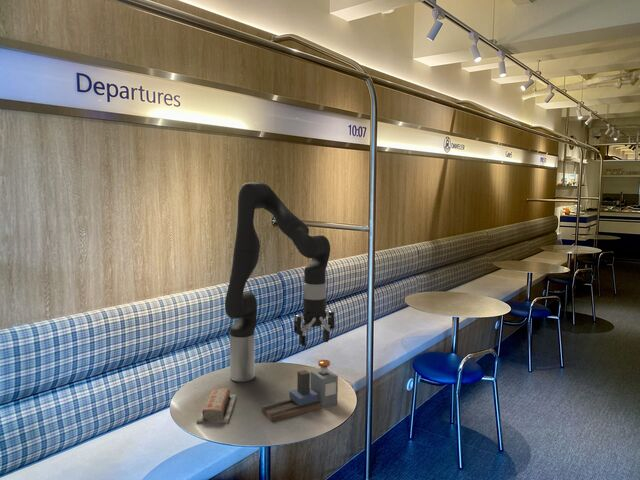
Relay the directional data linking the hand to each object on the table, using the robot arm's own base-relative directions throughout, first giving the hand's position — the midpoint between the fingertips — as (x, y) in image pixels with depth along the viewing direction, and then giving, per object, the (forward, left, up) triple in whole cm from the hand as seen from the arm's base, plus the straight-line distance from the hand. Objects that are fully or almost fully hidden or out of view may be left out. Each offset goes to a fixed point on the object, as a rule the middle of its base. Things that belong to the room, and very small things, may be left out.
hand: (314, 343), depth 158 cm
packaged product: (-13, -29, -22) cm, 39 cm away
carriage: (0, -4, -19) cm, 19 cm away
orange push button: (0, +4, -13) cm, 14 cm away
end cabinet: (0, +4, -21) cm, 22 cm away
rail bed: (0, -8, -21) cm, 23 cm away
